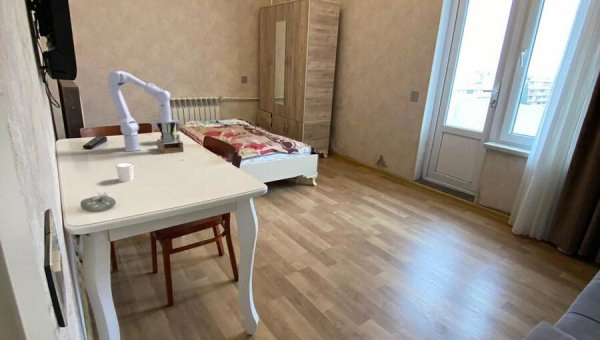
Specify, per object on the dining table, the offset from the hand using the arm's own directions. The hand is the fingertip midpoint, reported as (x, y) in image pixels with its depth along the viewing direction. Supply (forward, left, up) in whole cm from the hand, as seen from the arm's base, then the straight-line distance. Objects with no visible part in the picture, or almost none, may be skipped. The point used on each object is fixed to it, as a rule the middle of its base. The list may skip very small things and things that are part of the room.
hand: (167, 136), depth 188 cm
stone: (0, 0, -3) cm, 3 cm away
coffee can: (-20, +7, -9) cm, 23 cm away
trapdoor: (-3, +2, -4) cm, 5 cm away
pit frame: (-1, +2, -9) cm, 9 cm away
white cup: (+39, -27, -9) cm, 49 cm away
